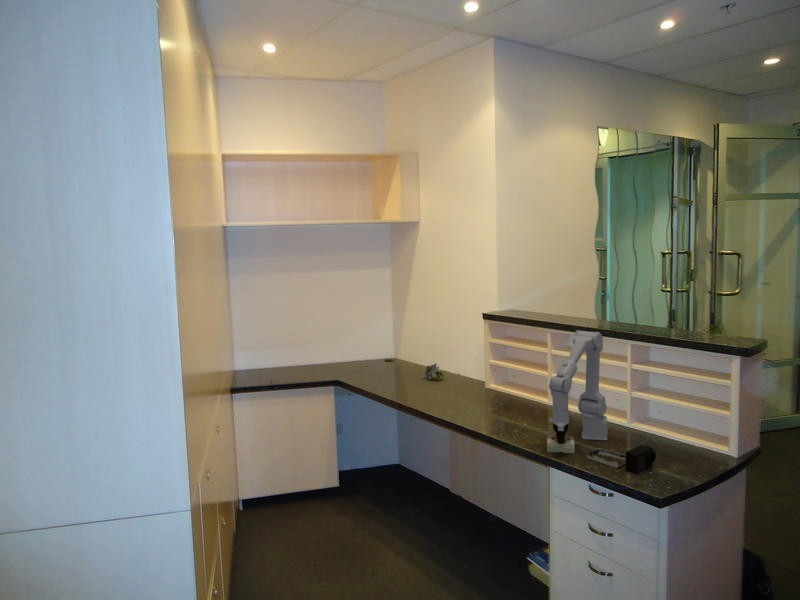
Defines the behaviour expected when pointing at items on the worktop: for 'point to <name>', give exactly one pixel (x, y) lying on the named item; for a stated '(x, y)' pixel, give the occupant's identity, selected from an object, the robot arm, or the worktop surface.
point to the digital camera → (640, 459)
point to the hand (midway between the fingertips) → (560, 443)
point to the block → (565, 438)
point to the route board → (560, 445)
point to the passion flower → (433, 372)
